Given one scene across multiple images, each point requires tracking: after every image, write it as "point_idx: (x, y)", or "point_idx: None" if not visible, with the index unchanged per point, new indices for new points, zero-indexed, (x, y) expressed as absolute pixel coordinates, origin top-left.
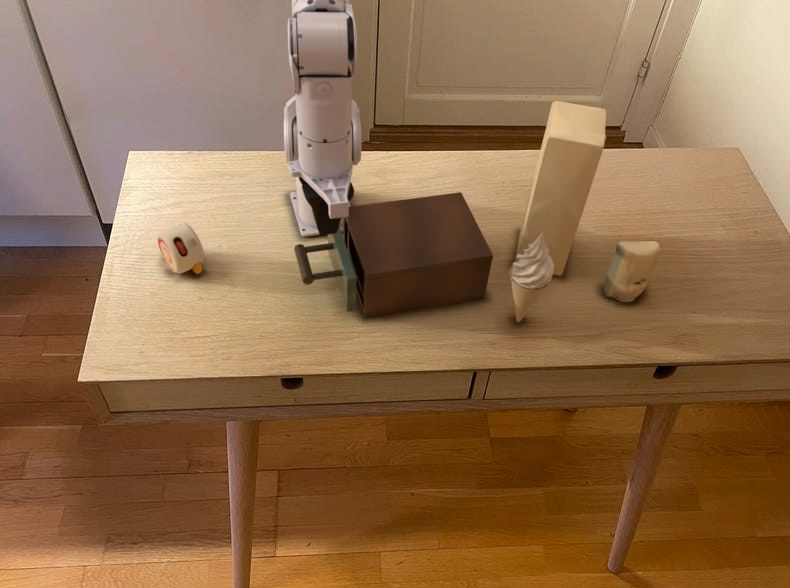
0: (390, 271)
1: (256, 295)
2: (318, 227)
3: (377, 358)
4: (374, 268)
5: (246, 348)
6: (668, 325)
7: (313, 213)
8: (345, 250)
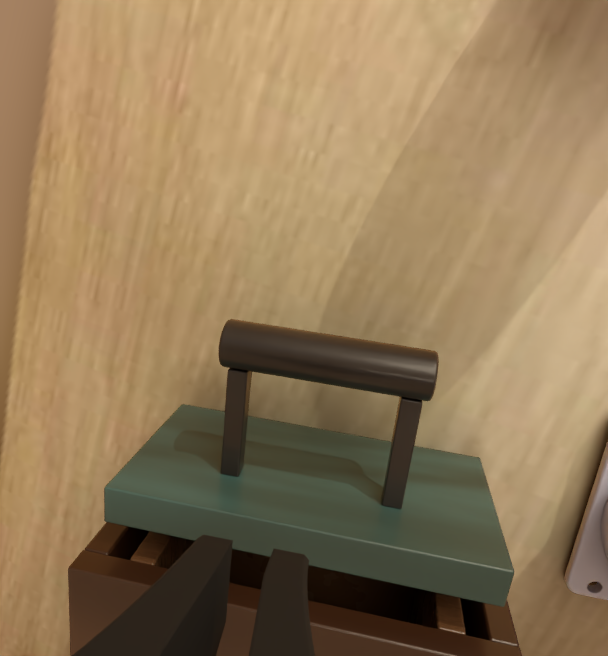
0: (72, 645)
1: (382, 139)
2: (165, 573)
3: (28, 409)
4: (94, 607)
5: (142, 34)
6: None
7: (258, 619)
8: (268, 549)
